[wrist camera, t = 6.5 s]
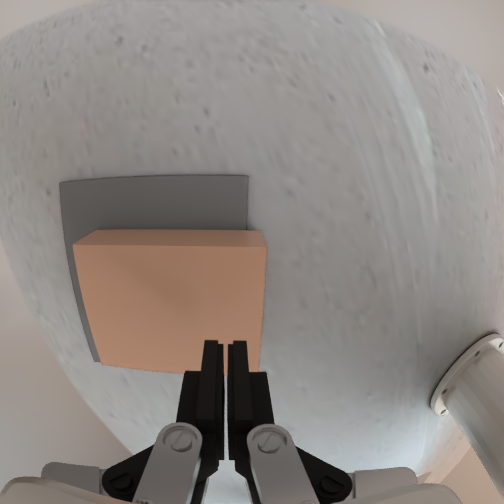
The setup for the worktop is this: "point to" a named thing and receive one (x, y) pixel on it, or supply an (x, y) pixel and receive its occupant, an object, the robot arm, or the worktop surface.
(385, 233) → the worktop surface
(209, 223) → the slate mat
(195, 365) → the terracotta block
